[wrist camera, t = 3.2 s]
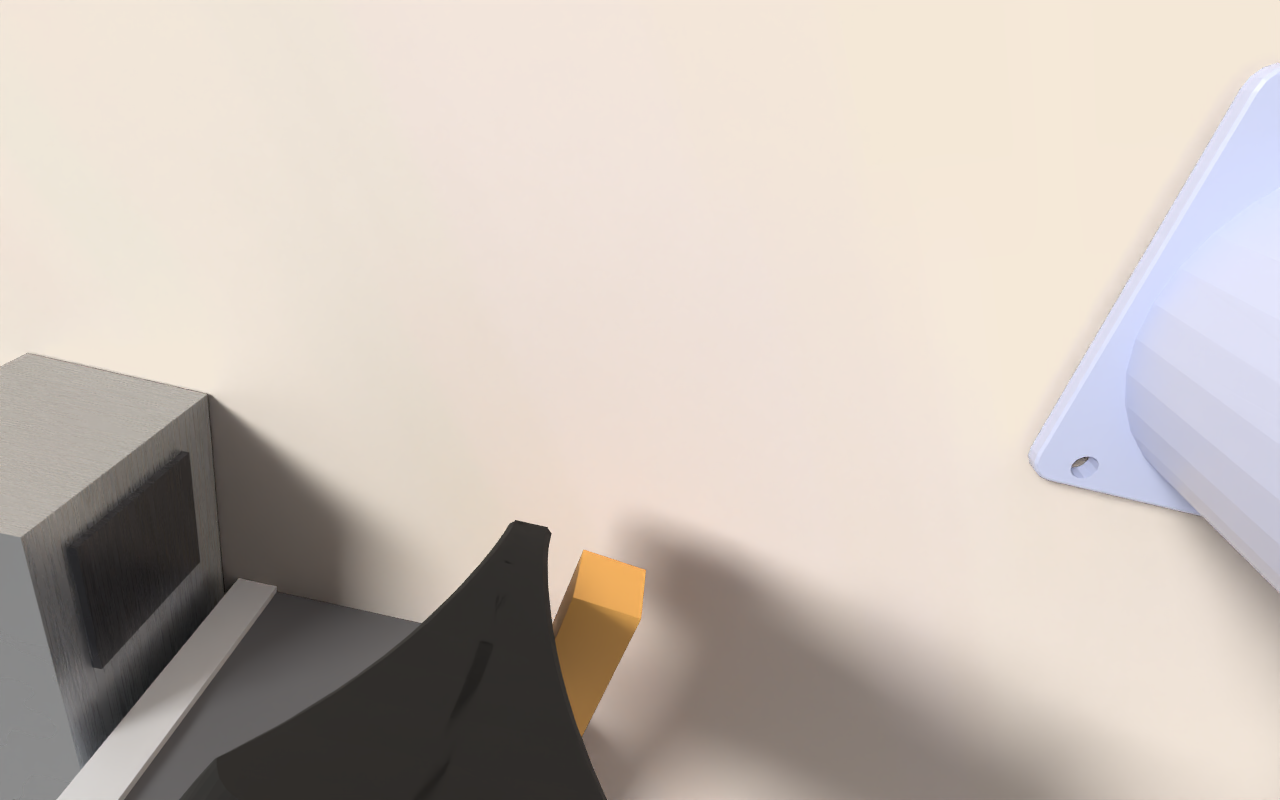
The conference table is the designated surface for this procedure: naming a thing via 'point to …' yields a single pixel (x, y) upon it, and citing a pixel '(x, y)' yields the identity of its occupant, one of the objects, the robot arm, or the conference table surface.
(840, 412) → the conference table surface
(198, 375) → the conference table surface
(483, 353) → the conference table surface
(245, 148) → the conference table surface
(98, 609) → the socket
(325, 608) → the plug
